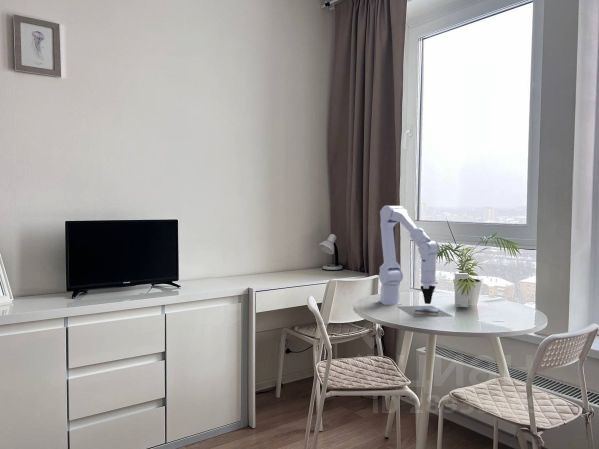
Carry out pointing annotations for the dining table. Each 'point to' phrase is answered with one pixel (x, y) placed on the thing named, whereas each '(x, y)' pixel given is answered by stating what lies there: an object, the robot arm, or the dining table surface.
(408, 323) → the dining table surface
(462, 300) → the skincare box
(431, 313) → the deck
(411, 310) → the mat
